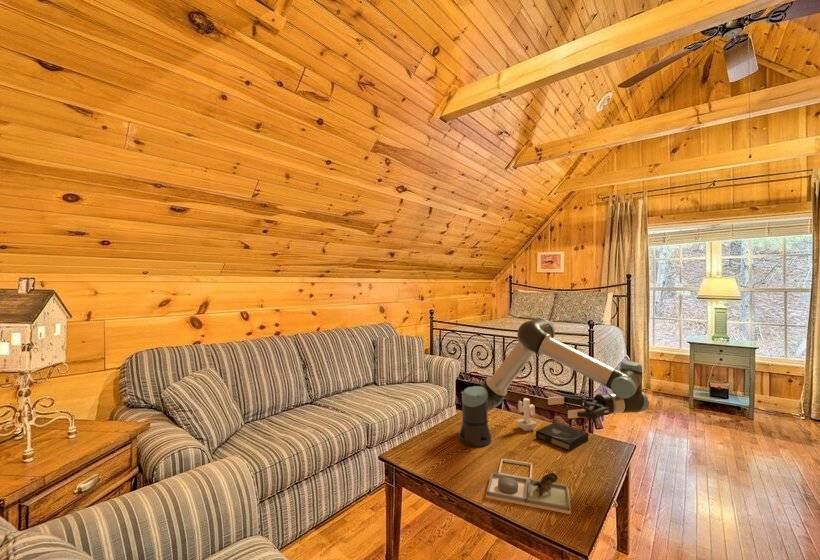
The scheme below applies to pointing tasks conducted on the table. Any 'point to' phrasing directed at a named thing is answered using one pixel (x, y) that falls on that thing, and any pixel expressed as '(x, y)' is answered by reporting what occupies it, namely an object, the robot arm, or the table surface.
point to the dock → (528, 493)
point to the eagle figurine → (545, 483)
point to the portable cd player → (562, 436)
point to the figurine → (526, 415)
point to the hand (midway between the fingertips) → (557, 407)
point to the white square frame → (516, 463)
